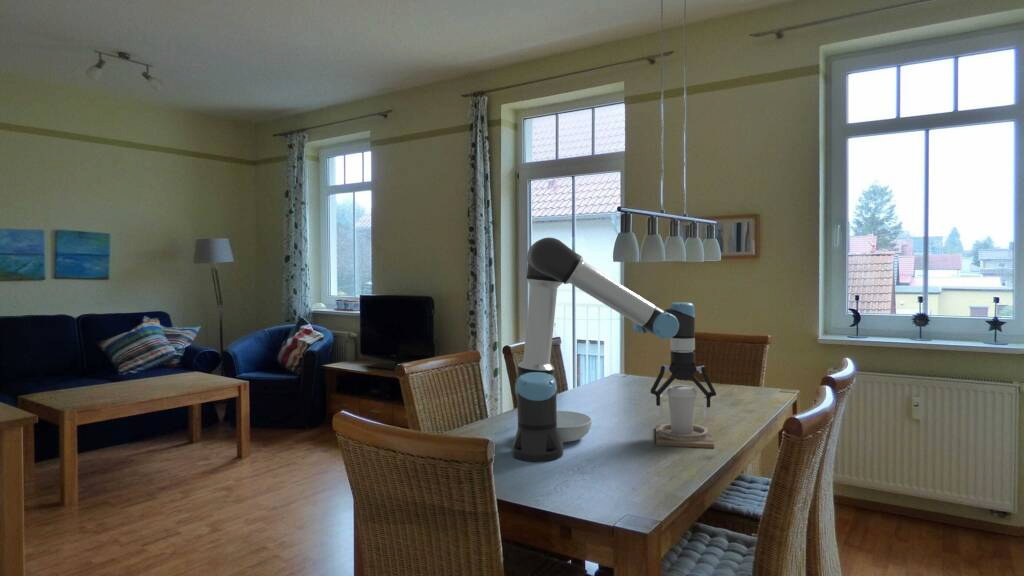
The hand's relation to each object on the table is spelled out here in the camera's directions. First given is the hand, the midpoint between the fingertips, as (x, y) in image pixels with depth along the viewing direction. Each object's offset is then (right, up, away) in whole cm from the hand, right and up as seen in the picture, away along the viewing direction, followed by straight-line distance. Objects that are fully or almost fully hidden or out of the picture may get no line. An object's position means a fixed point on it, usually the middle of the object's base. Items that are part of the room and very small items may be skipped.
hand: (683, 416), depth 194 cm
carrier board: (0, -7, 0) cm, 7 cm away
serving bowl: (-40, -8, +1) cm, 40 cm away
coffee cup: (0, -6, 0) cm, 6 cm away
